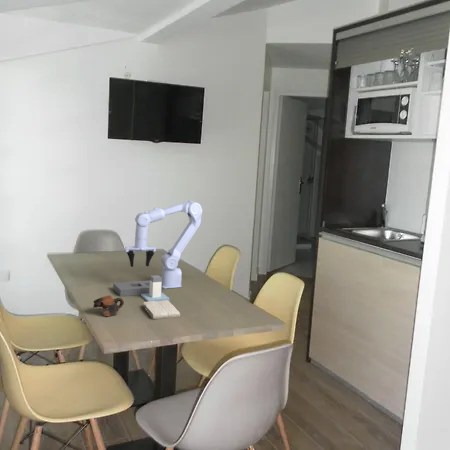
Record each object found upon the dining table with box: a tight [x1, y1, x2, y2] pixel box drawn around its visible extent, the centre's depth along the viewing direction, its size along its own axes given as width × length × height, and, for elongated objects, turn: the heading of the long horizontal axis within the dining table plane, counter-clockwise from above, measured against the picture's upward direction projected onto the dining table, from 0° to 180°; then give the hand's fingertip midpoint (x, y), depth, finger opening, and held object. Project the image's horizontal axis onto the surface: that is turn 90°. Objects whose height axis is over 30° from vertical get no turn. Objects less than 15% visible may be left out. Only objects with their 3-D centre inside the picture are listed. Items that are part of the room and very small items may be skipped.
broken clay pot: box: [92, 294, 125, 317], centre depth 200 cm, size 12×10×8 cm
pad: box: [140, 291, 171, 302], centre depth 222 cm, size 10×10×1 cm
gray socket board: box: [112, 279, 164, 297], centre depth 232 cm, size 20×12×3 cm, turn 118°
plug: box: [149, 274, 162, 298], centre depth 222 cm, size 4×4×9 cm
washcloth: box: [142, 300, 181, 320], centre depth 205 cm, size 12×18×3 cm, turn 24°
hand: (139, 266), depth 237 cm, fingers open, 7 cm apart
